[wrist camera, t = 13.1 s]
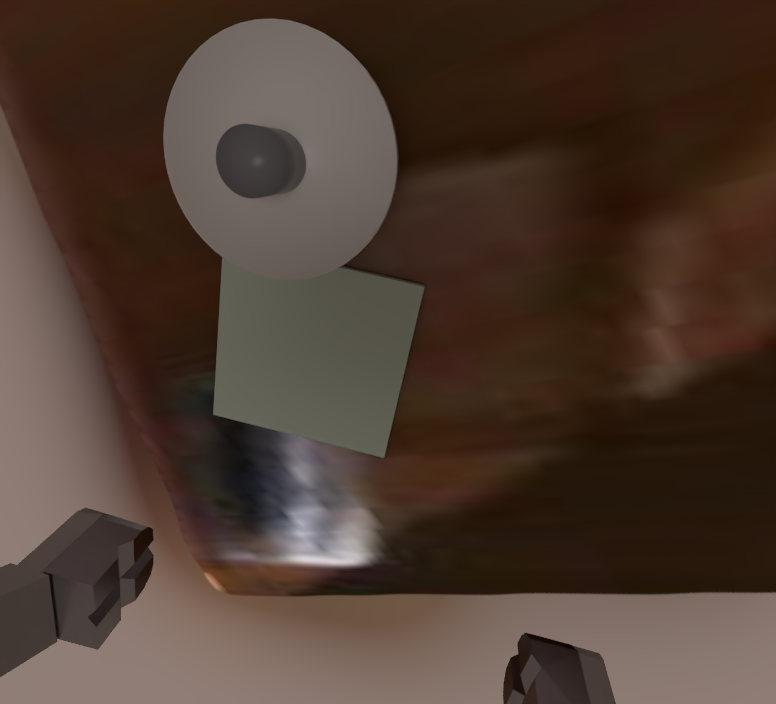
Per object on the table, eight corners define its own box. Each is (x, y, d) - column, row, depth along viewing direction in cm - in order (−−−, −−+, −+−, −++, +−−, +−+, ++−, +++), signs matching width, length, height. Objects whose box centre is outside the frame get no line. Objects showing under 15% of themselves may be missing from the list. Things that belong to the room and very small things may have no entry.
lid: (421, 50, 25) (412, 25, 21) (375, 296, 31) (360, 321, 26) (175, 2, 26) (112, -33, 21) (173, 251, 32) (123, 266, 27)
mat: (424, 284, 36) (424, 286, 36) (384, 454, 43) (384, 457, 42) (226, 238, 37) (223, 240, 37) (216, 411, 43) (213, 414, 43)
